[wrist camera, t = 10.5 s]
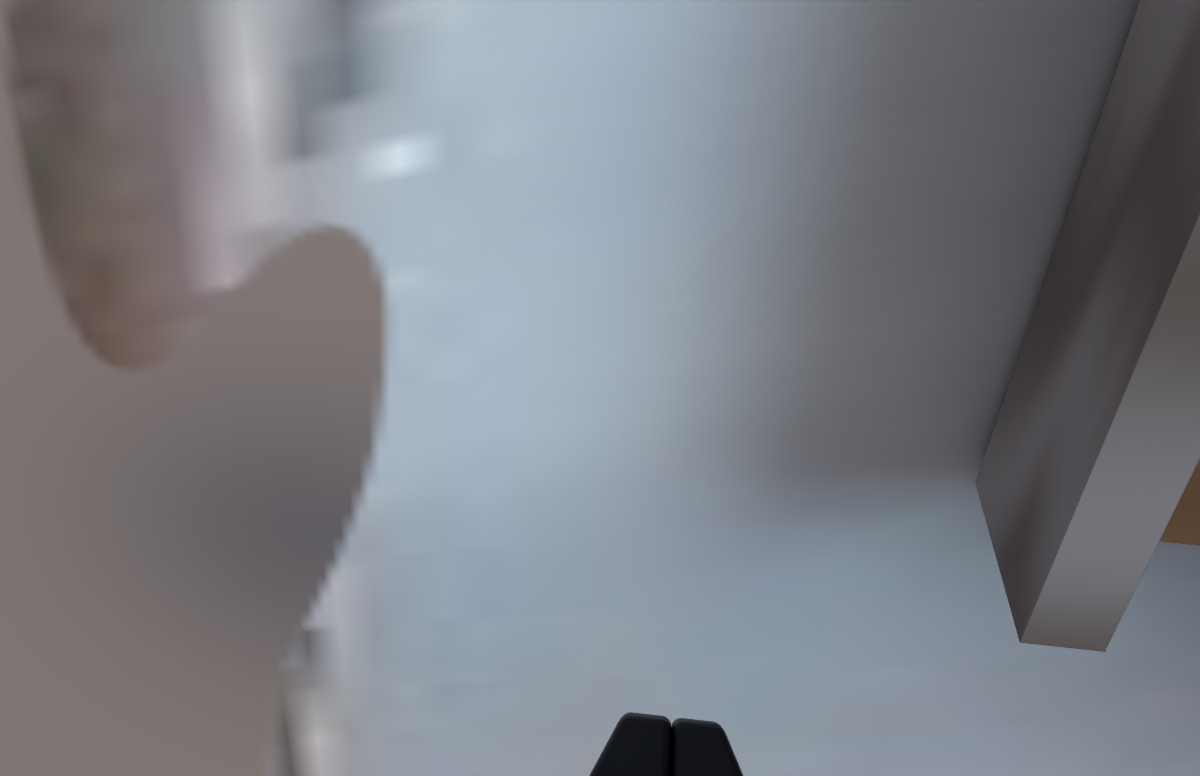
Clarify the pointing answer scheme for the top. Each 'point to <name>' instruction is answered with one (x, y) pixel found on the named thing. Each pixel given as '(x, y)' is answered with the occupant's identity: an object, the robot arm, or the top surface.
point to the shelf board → (1110, 360)
